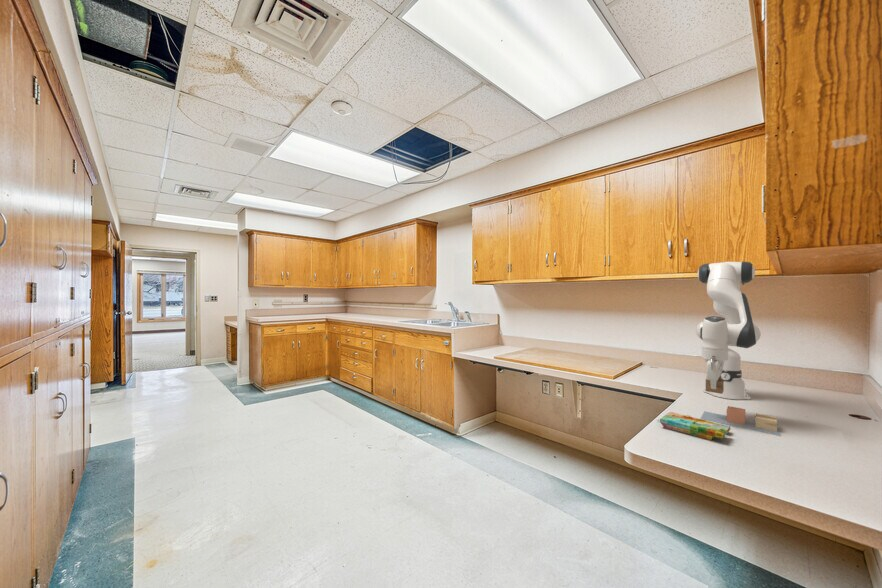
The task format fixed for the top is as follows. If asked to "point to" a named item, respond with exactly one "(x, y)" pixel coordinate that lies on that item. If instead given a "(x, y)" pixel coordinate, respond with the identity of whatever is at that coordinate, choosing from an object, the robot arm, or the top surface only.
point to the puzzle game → (694, 426)
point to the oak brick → (766, 422)
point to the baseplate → (748, 423)
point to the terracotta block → (736, 415)
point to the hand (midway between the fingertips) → (714, 386)
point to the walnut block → (718, 389)
